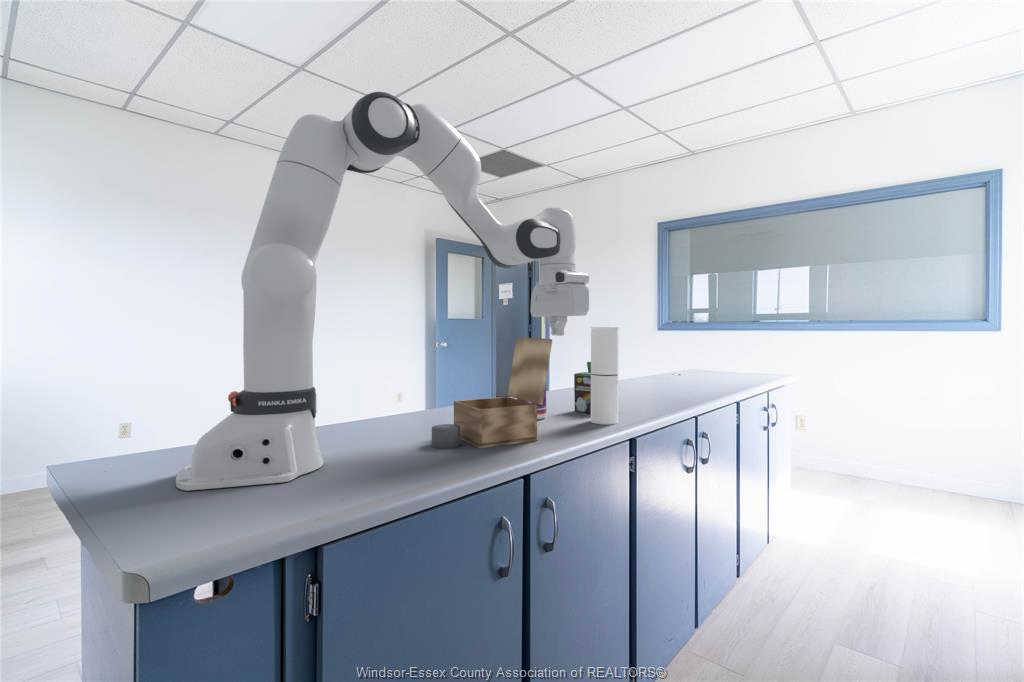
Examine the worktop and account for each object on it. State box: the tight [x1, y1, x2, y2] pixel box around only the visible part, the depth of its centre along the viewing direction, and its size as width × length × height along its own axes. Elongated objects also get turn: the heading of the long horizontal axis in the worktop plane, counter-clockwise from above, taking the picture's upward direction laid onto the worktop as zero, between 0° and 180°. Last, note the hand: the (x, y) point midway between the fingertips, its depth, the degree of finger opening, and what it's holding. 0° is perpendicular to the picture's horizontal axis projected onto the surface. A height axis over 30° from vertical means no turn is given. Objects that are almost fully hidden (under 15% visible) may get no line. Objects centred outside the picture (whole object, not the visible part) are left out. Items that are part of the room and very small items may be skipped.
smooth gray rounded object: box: [431, 423, 461, 450], centre depth 104 cm, size 6×6×4 cm
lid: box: [507, 336, 553, 405], centre depth 115 cm, size 15×15×1 cm
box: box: [453, 396, 538, 449], centre depth 111 cm, size 14×14×8 cm
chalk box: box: [573, 361, 591, 415], centre depth 146 cm, size 9×9×15 cm
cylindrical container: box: [590, 326, 620, 425], centre depth 130 cm, size 7×7×25 cm
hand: (557, 335), depth 119 cm, fingers closed
